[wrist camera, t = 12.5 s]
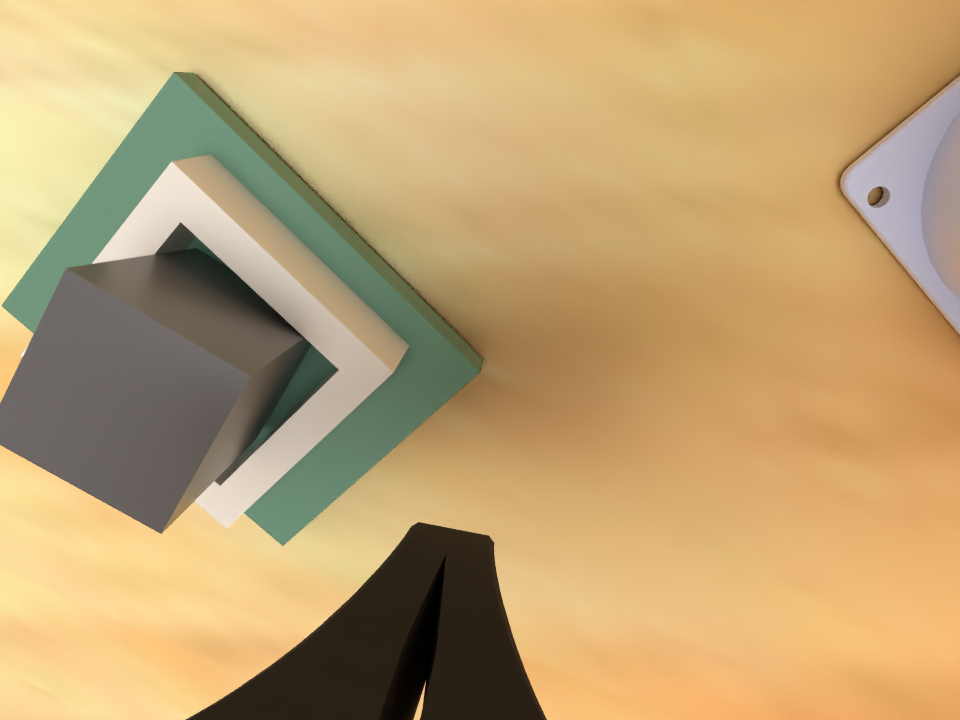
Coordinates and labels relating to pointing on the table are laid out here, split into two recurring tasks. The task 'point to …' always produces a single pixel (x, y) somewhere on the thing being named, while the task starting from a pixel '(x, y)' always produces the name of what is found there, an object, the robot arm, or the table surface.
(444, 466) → the table surface
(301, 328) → the frame
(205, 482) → the plug
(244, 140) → the board
